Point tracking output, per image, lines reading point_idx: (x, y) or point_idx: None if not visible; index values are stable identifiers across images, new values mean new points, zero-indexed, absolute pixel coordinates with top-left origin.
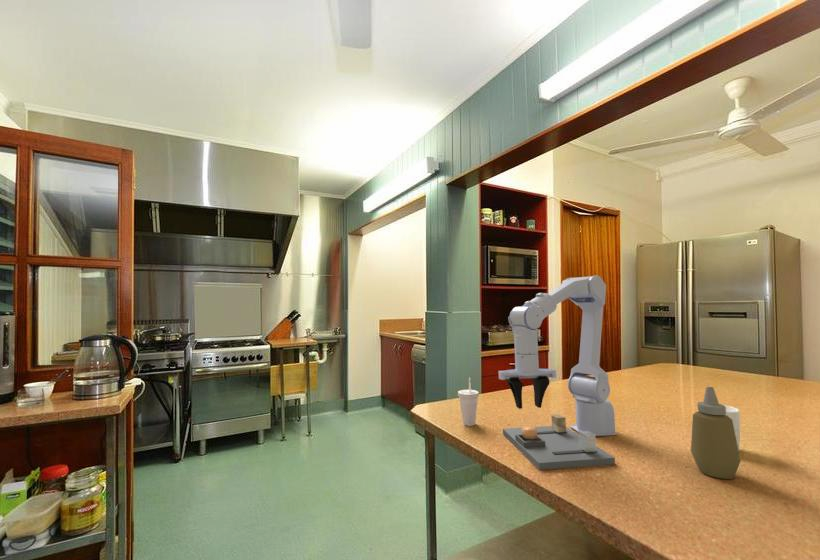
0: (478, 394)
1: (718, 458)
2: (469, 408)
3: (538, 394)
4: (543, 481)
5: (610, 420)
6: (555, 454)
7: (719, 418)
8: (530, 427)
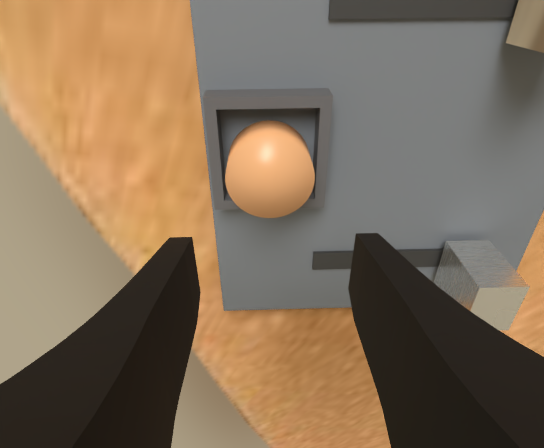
0: None
1: None
2: None
3: (385, 380)
4: (211, 342)
5: None
6: (315, 268)
7: None
8: (284, 164)
